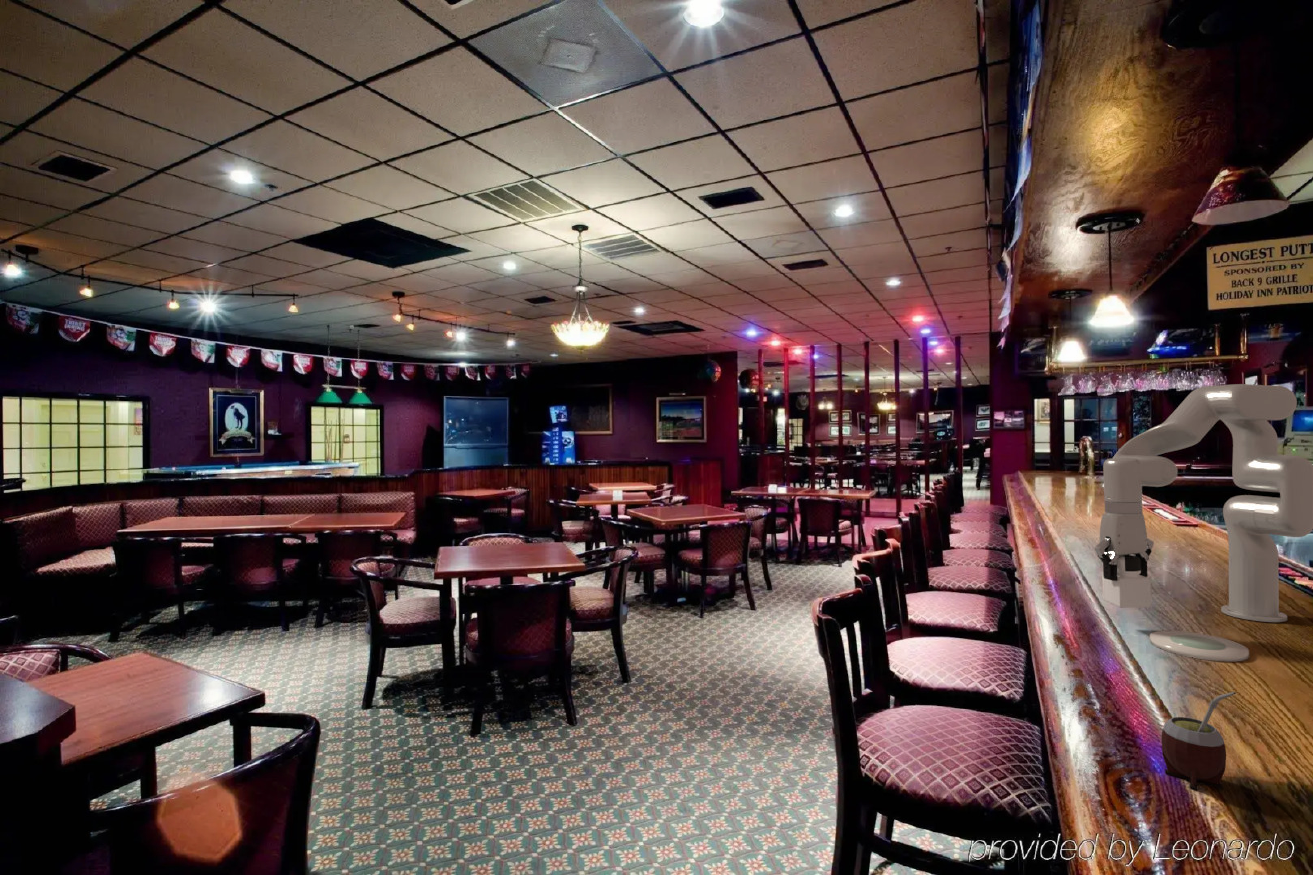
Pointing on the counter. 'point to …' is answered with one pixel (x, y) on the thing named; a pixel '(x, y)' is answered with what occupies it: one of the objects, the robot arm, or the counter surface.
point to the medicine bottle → (1128, 585)
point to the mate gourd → (1195, 749)
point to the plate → (1199, 646)
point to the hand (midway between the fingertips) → (1125, 577)
